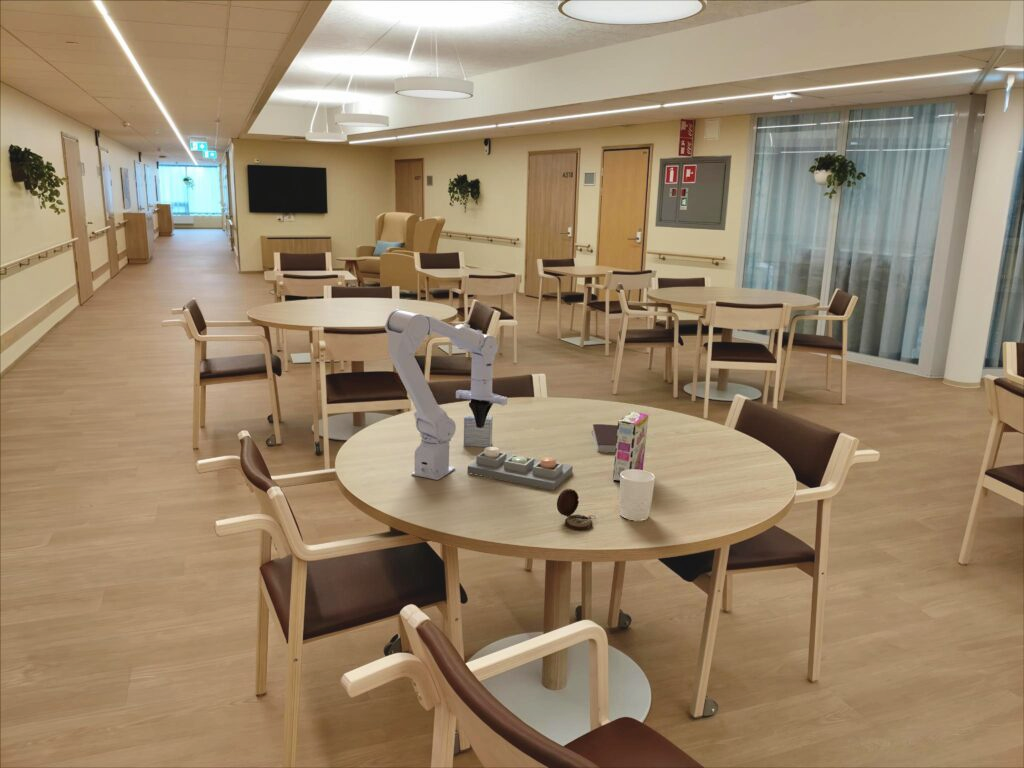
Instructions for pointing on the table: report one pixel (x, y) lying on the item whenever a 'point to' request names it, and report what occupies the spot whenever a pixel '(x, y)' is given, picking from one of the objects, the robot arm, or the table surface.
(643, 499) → the white cup
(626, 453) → the candy bar box
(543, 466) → the terracotta button
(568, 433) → the table surface
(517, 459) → the sage green button
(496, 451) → the off-white button
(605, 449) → the book
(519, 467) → the button board
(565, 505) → the compass
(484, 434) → the medicine box
